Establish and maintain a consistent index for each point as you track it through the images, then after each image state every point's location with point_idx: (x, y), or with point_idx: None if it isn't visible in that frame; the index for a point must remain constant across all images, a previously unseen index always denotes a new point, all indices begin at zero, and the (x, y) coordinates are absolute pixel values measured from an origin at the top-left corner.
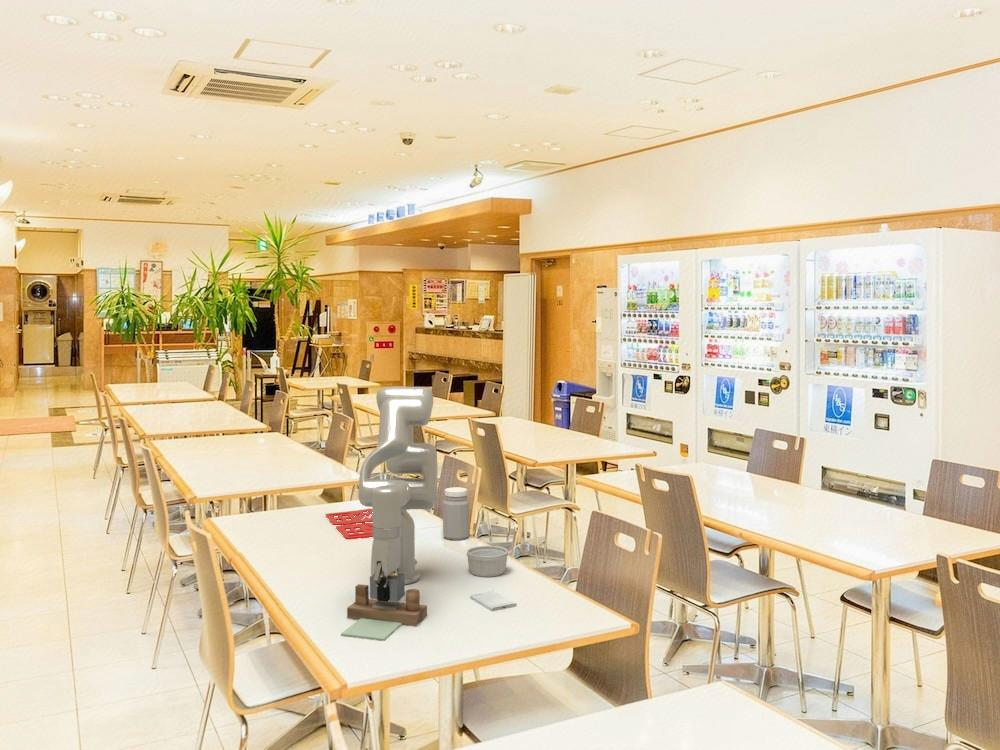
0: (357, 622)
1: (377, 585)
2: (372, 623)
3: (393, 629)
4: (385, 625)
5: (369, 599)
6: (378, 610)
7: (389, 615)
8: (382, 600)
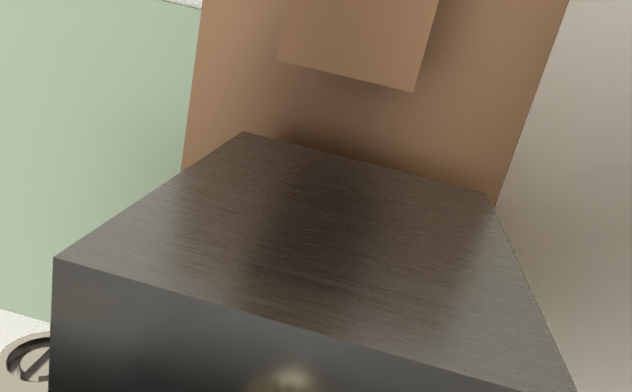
0: (125, 13)
1: (6, 364)
2: (129, 151)
3: None
4: None
5: (540, 45)
6: None
7: None
8: None
